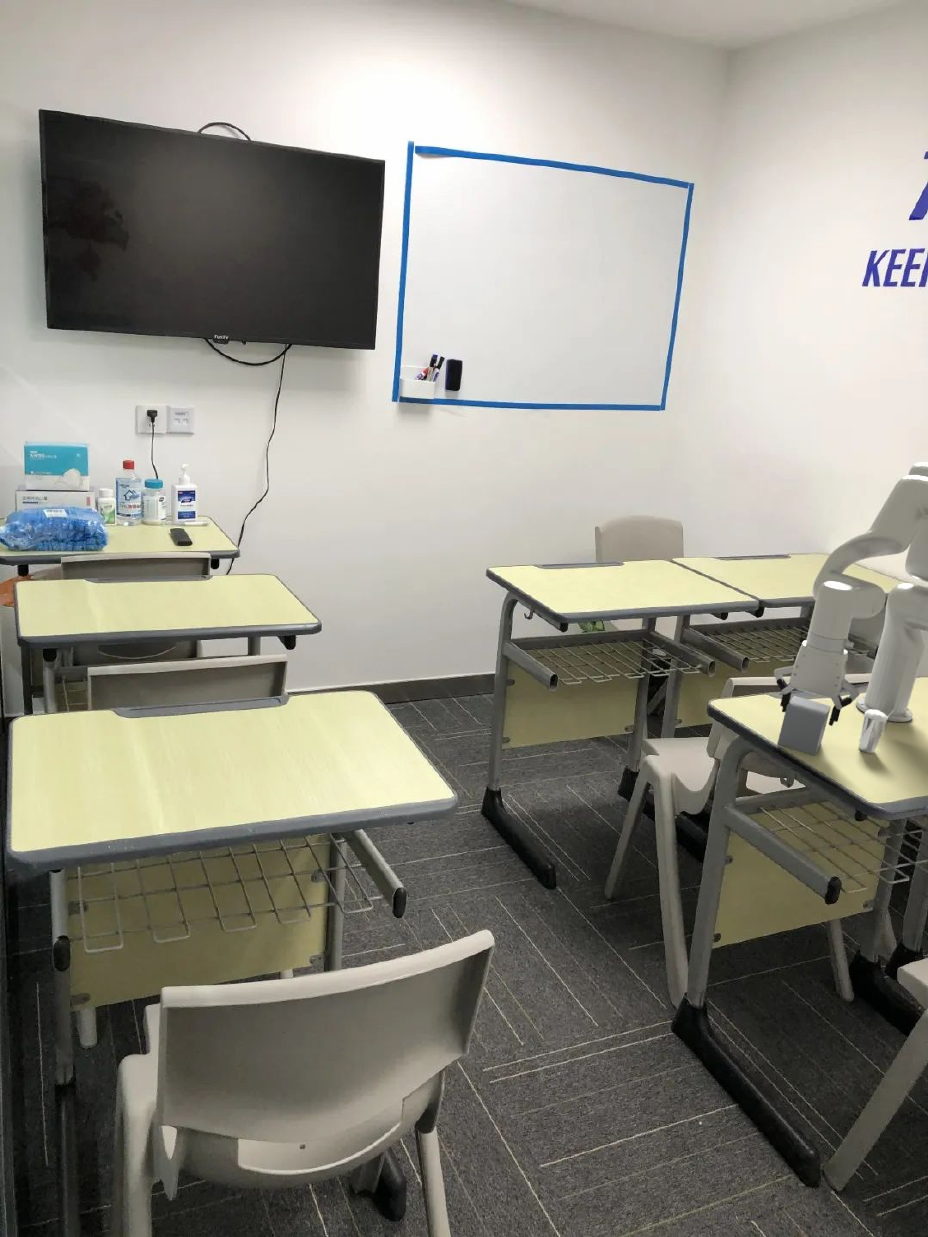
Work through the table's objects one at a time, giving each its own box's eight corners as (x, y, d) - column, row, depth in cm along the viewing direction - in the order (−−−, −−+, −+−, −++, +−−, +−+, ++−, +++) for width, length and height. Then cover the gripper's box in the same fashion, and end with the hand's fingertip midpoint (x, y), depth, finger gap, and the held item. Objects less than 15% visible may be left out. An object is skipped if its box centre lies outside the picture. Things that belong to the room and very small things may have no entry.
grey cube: (784, 732, 204) (794, 695, 201) (821, 743, 200) (830, 706, 198) (777, 744, 197) (786, 706, 195) (814, 755, 194) (824, 717, 191)
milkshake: (883, 757, 197) (896, 714, 194) (857, 752, 198) (869, 709, 195) (879, 748, 202) (891, 706, 199) (853, 743, 203) (865, 701, 200)
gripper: (872, 647, 191) (853, 723, 197) (787, 626, 199) (770, 699, 204) (867, 657, 185) (847, 735, 190) (779, 635, 192) (762, 710, 198)
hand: (807, 716), depth 197 cm, fingers open, 9 cm apart
